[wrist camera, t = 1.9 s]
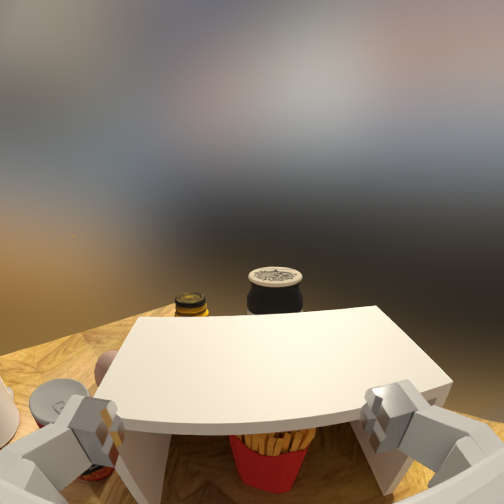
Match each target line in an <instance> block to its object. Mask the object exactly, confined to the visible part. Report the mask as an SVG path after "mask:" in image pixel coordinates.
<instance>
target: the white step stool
mask: <svg viewBox="0 0 504 504" xmlns="http://www.w3.org/2000/svg"><path fill="white" fill-rule="evenodd" d="M405 379H407V380H409V381H411V383H412V384H413V385H414V386H415V387H416V389H417V390H418V391H419V392H420V394H421V395H422V396H423V397H424V398H425V400H426V401H427V402H428V403H429V405H430V406H433V405H436V406H438V407H441V408H442V406H443V404H444V402H445V400H446V398H447V395H448V393H449V391H450V388H451V386H452V383H453V381H452V380H451V379H450V378H449V377H448V376H447V375H446V374H445V373H444V372H443V371H442V369H441V368H440V367H438V365H437V364H436V363H435V362H434V361H433V360H432V359H431V358H430V357H429V356H428V355H427V354H426V353H425V352H424V351H423V350H422V349H421V348H419V347H418V346H417V345H416V344H415V343H414V342H413V341H412V340H411V339H410V338H409V337H408V336H407V335H406V334H405V333H404V332H403V331H402V330H401V329H400V328H399V327H398V326H397V325H396V324H395V323H394V322H393V321H392V320H391V319H390V318H388V317H387V316H386V315H385V314H384V313H383V312H382V311H381V310H380V309H379V308H378V307H377V306H370V307H359V308H350V309H339V310H327V311H315V312H301V313H286V314H269V315H247V316H220V317H219V316H218V317H139V318H138V319H137V321H136V323H135V324H134V326H133V328H132V329H131V331H130V333H129V334H128V336H127V338H126V339H125V341H124V343H123V345H122V346H121V348H120V350H119V352H118V353H117V355H116V357H115V359H114V360H113V362H112V364H111V366H110V367H109V369H108V371H107V373H106V375H105V376H104V378H103V380H102V382H101V384H100V386H99V387H98V389H97V391H96V393H95V395H94V397H93V398H99V399H105V400H112V401H114V402H115V404H116V406H117V408H118V410H117V413H116V414H117V415H118V416H119V417H120V418H122V421H123V423H124V428H125V434H124V440H123V444H121V445H120V446H119V447H117V450H118V452H119V456H118V459H117V462H116V465H115V469H116V471H117V473H118V474H119V476H120V477H121V479H122V481H123V482H124V484H125V485H126V487H127V488H128V490H129V491H130V493H131V494H132V496H133V497H134V498H135V500H136V501H137V503H138V504H160V502H161V495H162V489H163V482H164V476H165V470H166V464H167V458H168V452H169V446H170V440H171V435H172V434H181V435H243V434H260V433H273V432H284V431H293V430H301V429H308V428H315V427H322V426H328V425H333V424H339V423H344V422H350V424H351V426H352V428H353V431H354V433H355V435H356V437H357V439H358V441H359V443H360V446H361V448H362V450H363V452H364V454H365V456H366V459H367V461H368V463H369V465H370V467H371V469H372V472H373V474H374V476H375V478H376V480H377V483H378V485H379V487H380V489H381V491H382V494H383V496H385V495H388V494H391V493H393V492H394V490H395V489H396V488H397V486H398V485H399V483H400V482H401V480H402V479H403V477H404V476H405V474H406V473H407V471H408V469H409V468H410V466H411V465H412V463H413V461H414V459H412V458H411V457H409V456H408V455H406V454H405V453H403V452H401V451H400V450H398V448H397V449H393V450H390V451H386V452H383V453H379V454H375V452H374V450H373V448H372V446H371V444H370V442H369V439H370V436H371V435H369V434H367V433H365V432H364V430H363V428H362V426H361V422H360V412H361V408H362V406H363V405H364V404H365V403H366V400H365V398H364V396H365V393H366V391H367V390H368V389H369V388H374V387H378V386H382V385H386V384H390V383H394V382H398V381H402V380H405Z"/></svg>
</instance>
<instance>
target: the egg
mask: <svg viewBox="0 0 504 504" xmlns="http://www.w3.org/2000/svg"><path fill="white" fill-rule="evenodd" d="M118 352H119V351H114V350H111V351H107V352H105V353H103V354H102V355H101V356H100V357H99V359H98V361H97V363H96V366H95V371H94V374H95V381H96V384H97V386H98V387H99V386H100V384H101V382H102V380H103V378H104V376H105V375H106V373H107V371H108V369H109V367H110V366H111V364H112V362H113V360H114V359H115V357H116V355H117V353H118Z"/></svg>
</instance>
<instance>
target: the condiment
mask: <svg viewBox="0 0 504 504" xmlns="http://www.w3.org/2000/svg"><path fill="white" fill-rule="evenodd" d="M175 304H176V307H175V308H176V312H175V317H209V312H208V310H207V309H206V299H205V297H204V295H202V294H200V293H196V292H189V293H184V294H181V295H179V296H178V297H176V299H175Z"/></svg>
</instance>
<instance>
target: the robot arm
mask: <svg viewBox="0 0 504 504" xmlns="http://www.w3.org/2000/svg"><path fill="white" fill-rule="evenodd" d="M364 398H365V400H366V403H365V404H364V405H363V406H362V408H361V412H360V422H361V426H362V428H363V430H364V432H365V433H367V434H369V435H371V436H370V439H369V442H370V444H371V446H372V448H373V450H374V452H375V454H379V453H383V452H386V451H390V450H393V449H397V448H398V450H400V451H401V452H403V453H405V454H406V455H408V456H409V457H411V458H412V459H414V460H416V461H417V462H419V463H421V464H422V465H424V466H426V467H427V468H429V469H431V470H432V471H434V472H436V473H435V475H434V476H433V477H432V479H431V480H430V481H429V483H428V485H427V486H428V487H429V489H427V490H425V491H423V492H420V493H418V494H416V495H413V496H411V497H408V498H406V499H403V500H401V501H398V502H396V503H393V504H504V443H503V442H502V441H501V439H500V438H499V437H498V436H497V435H496V434H495V433H494V432H493V430H492V429H491V428H490V427H489V426H488V425H487V424H486V423H483V422H480V421H477V420H474V419H471V418H468V417H465V416H462V415H460V414H457V413H454V412H451V411H449V410H446V409H443V408H441V407H438V406H436V405H433V406H430V405H429V403H428V402H427V401H426V400H425V398H424V397H423V396H422V395H421V394H420V392H419V391H418V390H417V389H416V387H415V386H414V385H413V384H412V383H411V381H409V380H407V379H405V380H402V381H398V382H394V383H390V384H386V385H382V386H378V387H374V388H369V389H368V390H367V391H366V393H365V396H364ZM117 410H118V408H117V406H116V404H115V402H114V401H112V400H105V399H99V398H93V397H87V396H86V397H85V396H80V395H75V394H74V395H72V396H71V397H70V399H69V400H68V402H67V403H66V405H65V407H64V408H63V410H62V412H61V413H60V415H59V417H58V418H57V420H56V422H55V423H54V424H52V423H50V424H48V425H46V426H44V427H43V428H41V429H39V430H37V431H35V432H33V433H31V434H29V435H27V436H25V437H23V438H21V439H19V440H17V441H15V442H13V443H11V444H9V445H7V446H5V447H3V448H2V450H1V451H0V504H69V503H68V501H67V500H66V499H65V498H64V497H63V496H62V495H61V494H60V493H59V492H60V491H62V490H63V489H64V488H65V487H66V486H68V485H69V484H70V483H71V482H72V481H74V480H75V479H76V478H77V477H78V476H80V475H81V474H82V473H83V472H84V471H86V470H87V469H88V468H89V467H90V466H91V465H92V464H97V465H103V466H108V467H114V468H115V465H116V462H117V459H118V456H119V452H118V450H117V447H119V446H120V445H121V444H123V440H124V434H125V428H124V423H123V421H122V418H120V417H119V416H118V415H117V414H116V413H117ZM19 420H20V415H19V410H18V408H17V406H16V405H15V403H14V393H13V391H12V390H11V388H10V387H6V386H5V385H4V383H3V381H2V379H1V378H0V448H1V447H2V446H4V445H5V444H6V443H7V442H8V441H9V440H10V439H11V438H12V437H13V435H14V434H15V432H16V430H17V428H18V425H19Z"/></svg>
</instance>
